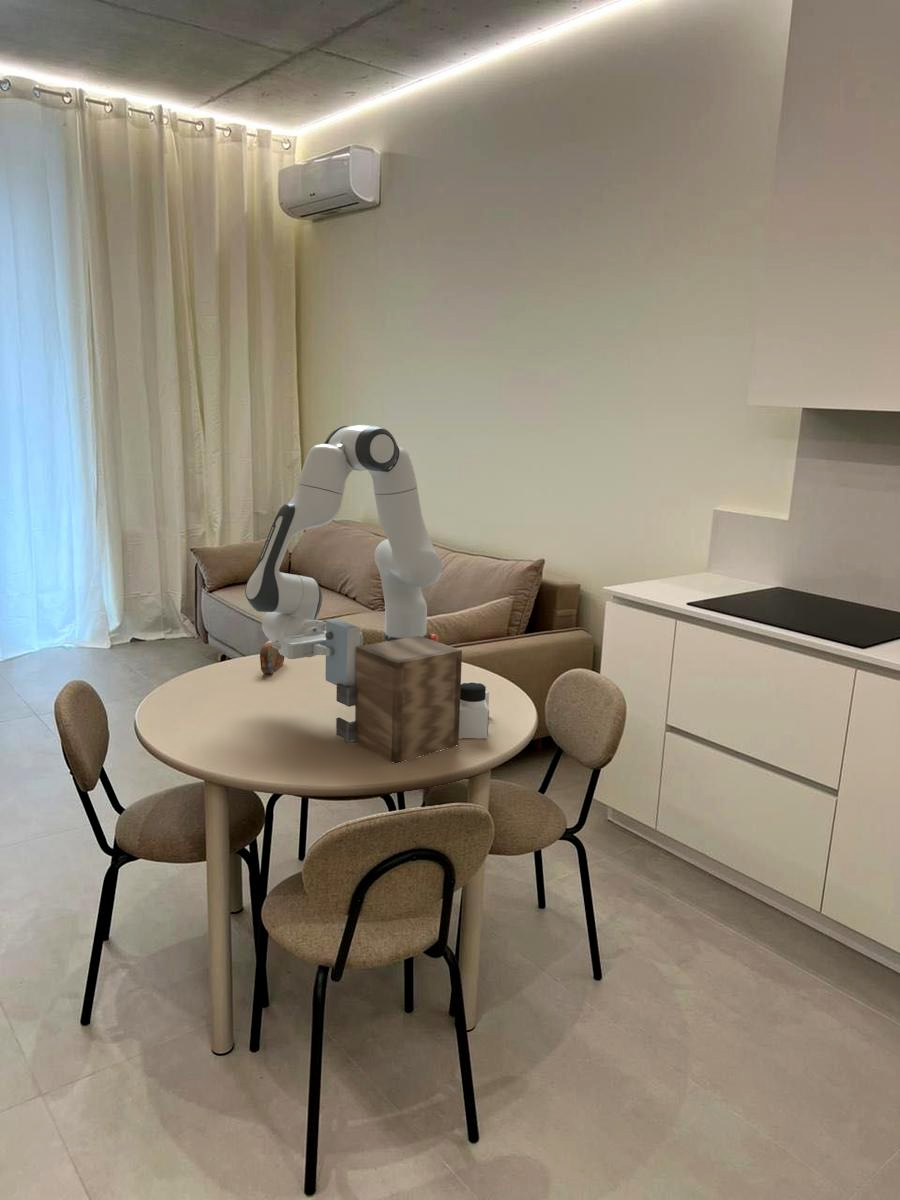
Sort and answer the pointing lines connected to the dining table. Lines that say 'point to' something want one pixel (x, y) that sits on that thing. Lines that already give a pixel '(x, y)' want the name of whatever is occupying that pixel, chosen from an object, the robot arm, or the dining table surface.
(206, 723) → the dining table surface
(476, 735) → the medicine bottle
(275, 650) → the tin
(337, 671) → the door
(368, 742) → the cabinet
